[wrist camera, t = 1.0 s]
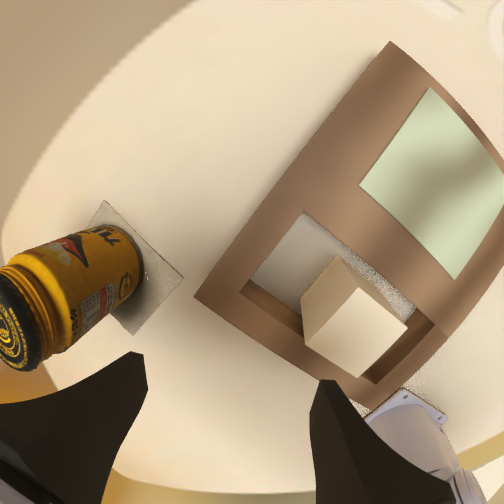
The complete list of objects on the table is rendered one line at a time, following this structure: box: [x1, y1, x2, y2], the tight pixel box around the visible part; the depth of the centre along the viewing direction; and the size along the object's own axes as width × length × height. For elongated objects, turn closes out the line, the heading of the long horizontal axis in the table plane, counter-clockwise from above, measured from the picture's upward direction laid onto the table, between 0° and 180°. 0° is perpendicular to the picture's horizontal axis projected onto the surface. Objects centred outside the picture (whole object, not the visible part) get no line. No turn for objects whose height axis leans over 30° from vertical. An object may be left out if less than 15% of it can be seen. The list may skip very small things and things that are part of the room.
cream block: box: [300, 255, 408, 378], centre depth 17 cm, size 4×4×6 cm
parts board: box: [194, 41, 504, 411], centre depth 17 cm, size 16×20×3 cm
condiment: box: [0, 200, 183, 372], centre depth 15 cm, size 7×8×12 cm
